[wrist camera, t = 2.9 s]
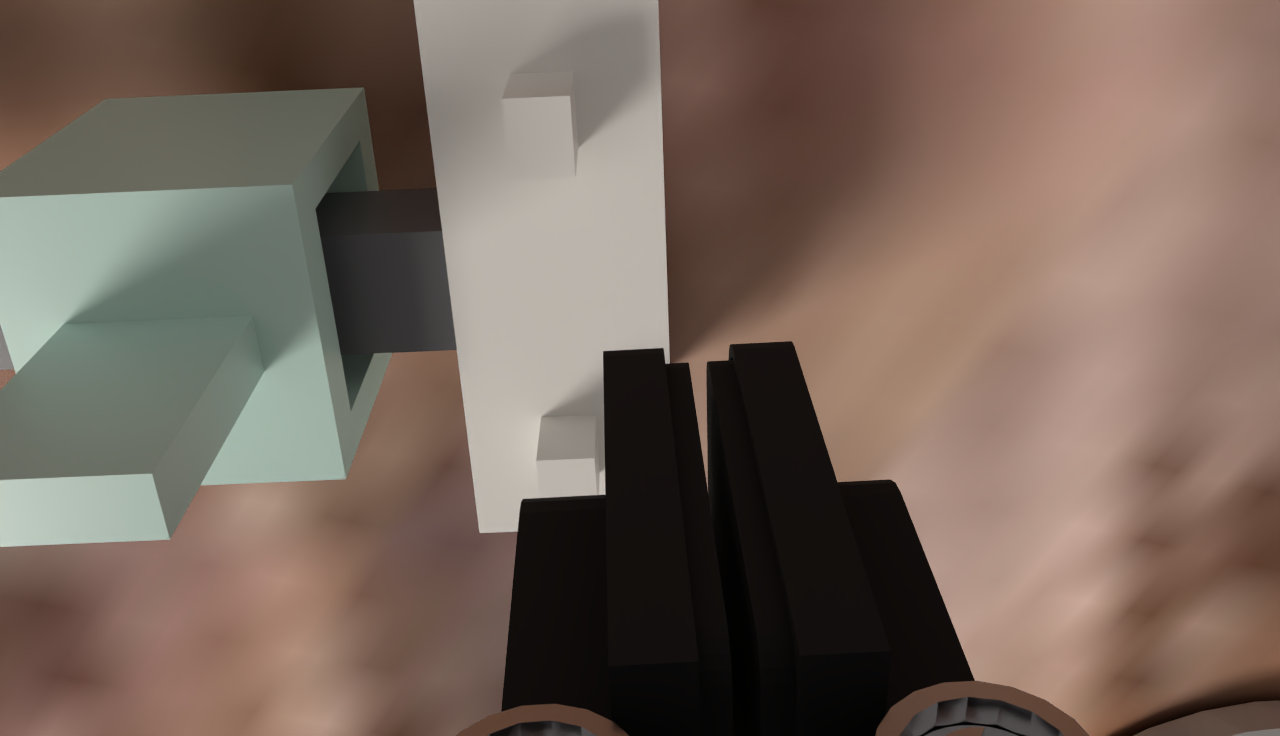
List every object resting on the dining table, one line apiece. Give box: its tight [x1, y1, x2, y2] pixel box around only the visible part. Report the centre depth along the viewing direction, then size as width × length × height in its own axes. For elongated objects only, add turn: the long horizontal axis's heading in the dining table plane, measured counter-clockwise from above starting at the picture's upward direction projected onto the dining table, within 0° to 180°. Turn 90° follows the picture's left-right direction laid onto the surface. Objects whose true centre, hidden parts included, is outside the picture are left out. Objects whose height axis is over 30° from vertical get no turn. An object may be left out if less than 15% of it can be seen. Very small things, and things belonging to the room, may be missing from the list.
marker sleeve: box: [0, 87, 392, 547], centre depth 16 cm, size 4×4×8 cm
